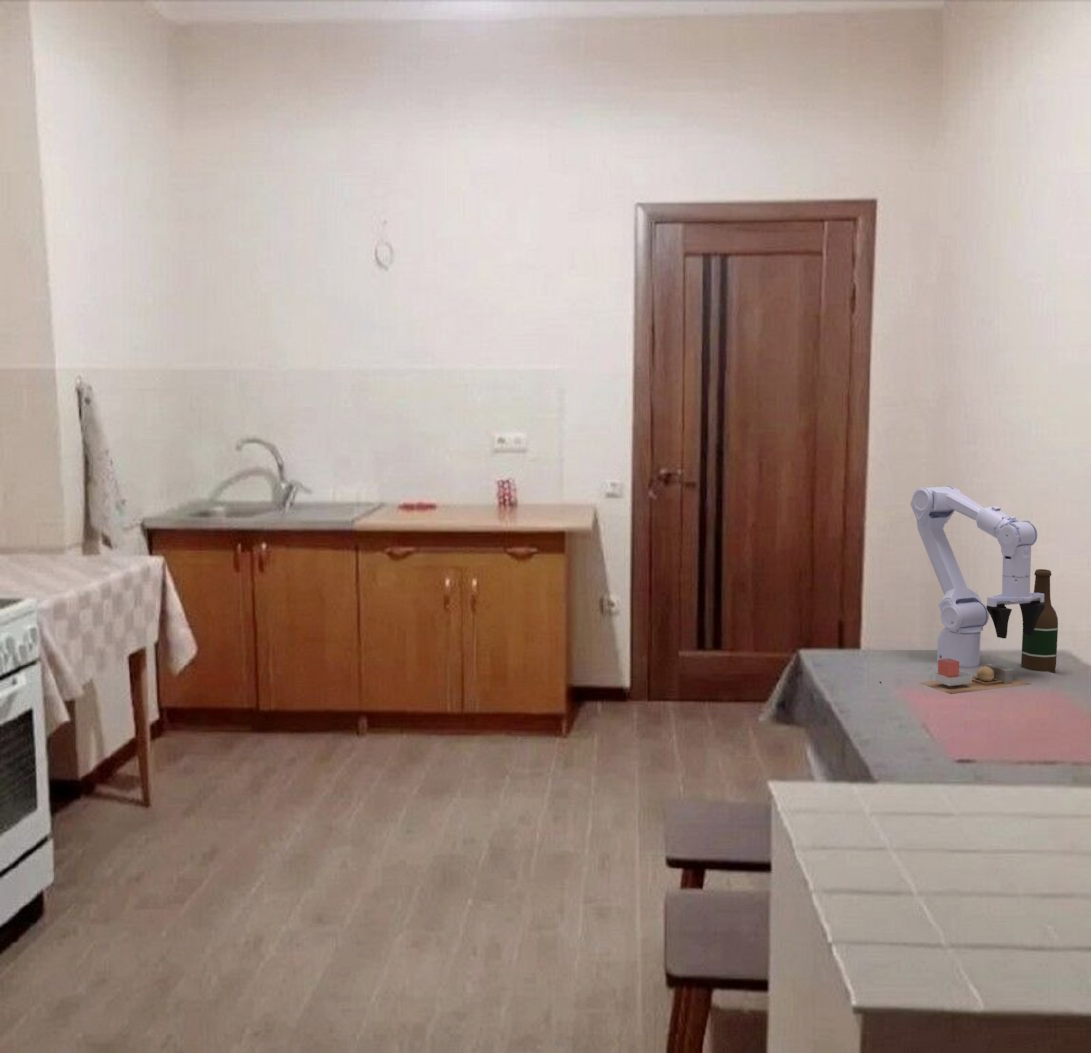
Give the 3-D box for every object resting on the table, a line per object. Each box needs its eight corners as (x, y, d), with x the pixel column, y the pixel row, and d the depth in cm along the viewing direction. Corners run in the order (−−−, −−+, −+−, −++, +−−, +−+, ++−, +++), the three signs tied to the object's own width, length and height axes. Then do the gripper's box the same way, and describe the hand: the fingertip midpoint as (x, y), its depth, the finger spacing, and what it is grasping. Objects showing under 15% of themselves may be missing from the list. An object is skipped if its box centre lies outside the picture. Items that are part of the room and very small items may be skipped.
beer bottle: (1049, 668, 259) (1054, 567, 257) (1061, 676, 252) (1067, 572, 249) (1015, 668, 260) (1019, 567, 257) (1026, 676, 252) (1031, 572, 250)
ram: (935, 681, 240) (936, 658, 240) (957, 678, 242) (958, 656, 242) (949, 686, 236) (950, 663, 236) (971, 683, 238) (972, 660, 238)
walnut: (974, 681, 244) (973, 666, 243) (986, 678, 245) (985, 663, 244) (985, 685, 240) (984, 670, 240) (998, 682, 242) (997, 666, 241)
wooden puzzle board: (918, 688, 242) (919, 669, 242) (997, 678, 250) (998, 660, 250) (950, 699, 233) (951, 680, 233) (1031, 689, 241) (1032, 670, 240)
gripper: (1004, 580, 239) (1002, 642, 240) (1055, 575, 244) (1054, 636, 245) (980, 576, 245) (979, 636, 246) (1031, 572, 250) (1029, 631, 252)
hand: (1014, 636), depth 246 cm, fingers open, 7 cm apart
